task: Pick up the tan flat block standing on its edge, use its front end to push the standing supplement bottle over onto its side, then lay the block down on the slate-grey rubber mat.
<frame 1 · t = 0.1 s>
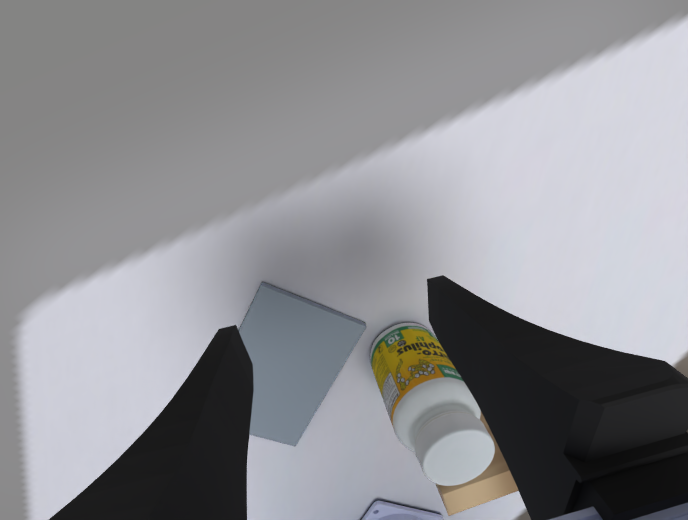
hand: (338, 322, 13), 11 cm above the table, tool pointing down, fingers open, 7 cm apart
tool mat: (280, 369, 26), on the table
tan flat block: (475, 416, 30), on the table
supplement bottle: (402, 348, 27), on the table
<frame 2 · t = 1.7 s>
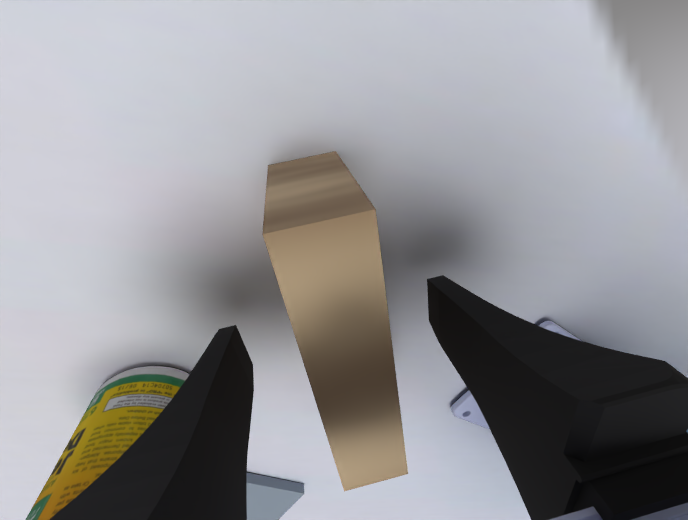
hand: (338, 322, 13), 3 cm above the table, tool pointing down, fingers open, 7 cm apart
tool mat: (188, 502, 22), on the table
tan flat block: (329, 279, 15), on the table
supplement bottle: (159, 397, 17), on the table
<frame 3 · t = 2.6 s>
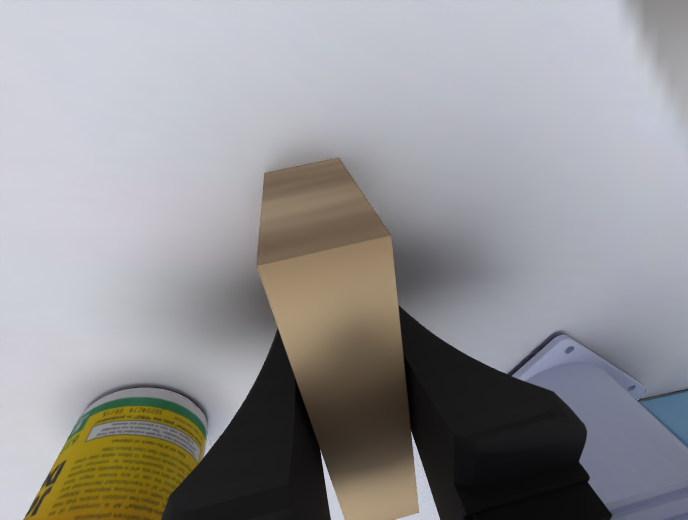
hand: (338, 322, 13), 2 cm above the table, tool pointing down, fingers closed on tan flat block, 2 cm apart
gum box: (617, 468, 28), on the table
tan flat block: (331, 296, 14), on the table, touching gripper
supplement bottle: (149, 419, 16), on the table
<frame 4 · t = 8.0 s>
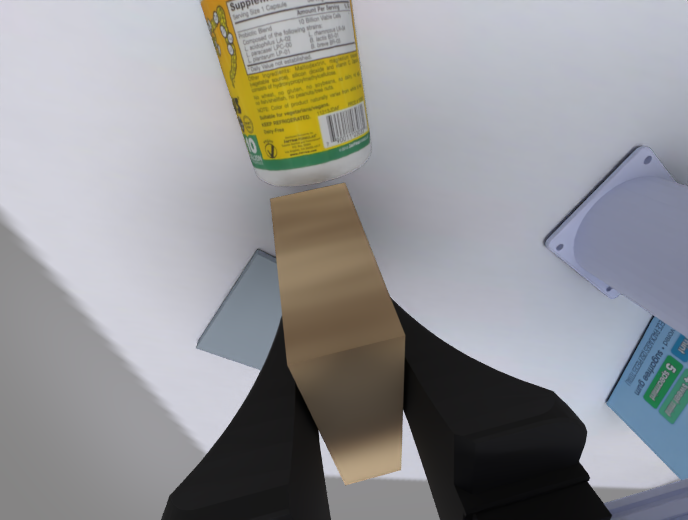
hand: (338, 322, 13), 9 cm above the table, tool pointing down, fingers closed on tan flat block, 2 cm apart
tool mat: (307, 331, 24), on the table
gum box: (662, 326, 31), on the table
tan flat block: (330, 294, 15), point 6 cm above the table, tilted 15°, touching gripper
supplement bottle: (316, 171, 16), point 3 cm above the table
when the fingers open (3 cm above the table, at t = 10.8 s): tan flat block stays where it is, resting on tool mat.
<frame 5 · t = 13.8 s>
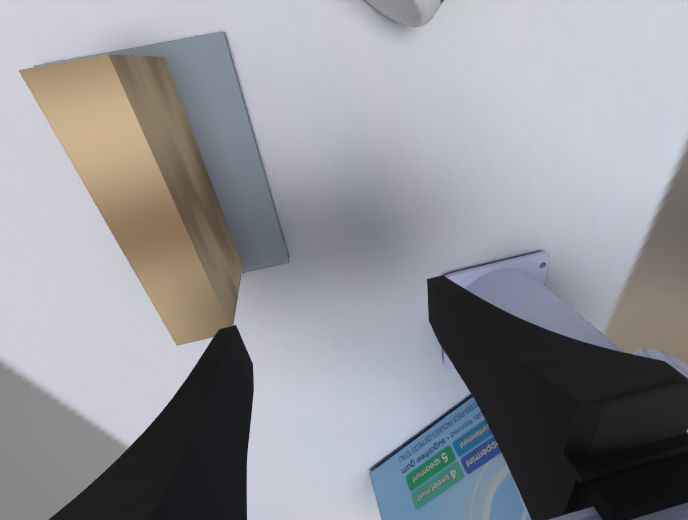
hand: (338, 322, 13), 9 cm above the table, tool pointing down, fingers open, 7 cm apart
tool mat: (188, 179, 18), on the table
gum box: (451, 423, 34), on the table
tan flat block: (185, 182, 18), point 1 cm above the table, touching tool mat
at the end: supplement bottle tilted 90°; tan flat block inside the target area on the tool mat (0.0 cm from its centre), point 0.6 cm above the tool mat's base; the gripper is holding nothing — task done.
